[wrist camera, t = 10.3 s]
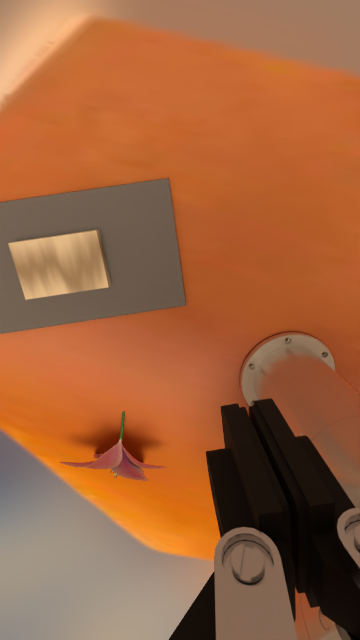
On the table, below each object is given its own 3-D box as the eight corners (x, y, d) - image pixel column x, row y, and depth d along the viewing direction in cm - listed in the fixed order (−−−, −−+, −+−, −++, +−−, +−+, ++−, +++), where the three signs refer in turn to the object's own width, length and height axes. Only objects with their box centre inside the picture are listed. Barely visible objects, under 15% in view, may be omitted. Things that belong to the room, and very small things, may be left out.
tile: (108, 287, 35) (25, 299, 35) (111, 283, 37) (32, 294, 37) (96, 230, 33) (8, 243, 33) (99, 228, 35) (16, 241, 35)
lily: (60, 421, 45) (45, 499, 39) (104, 386, 38) (96, 472, 32) (132, 438, 51) (130, 508, 45) (181, 410, 45) (187, 487, 39)
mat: (185, 303, 39) (186, 305, 39) (3, 331, 39) (0, 333, 38) (168, 178, 35) (168, 178, 34) (-40, 208, 34) (-44, 208, 33)
